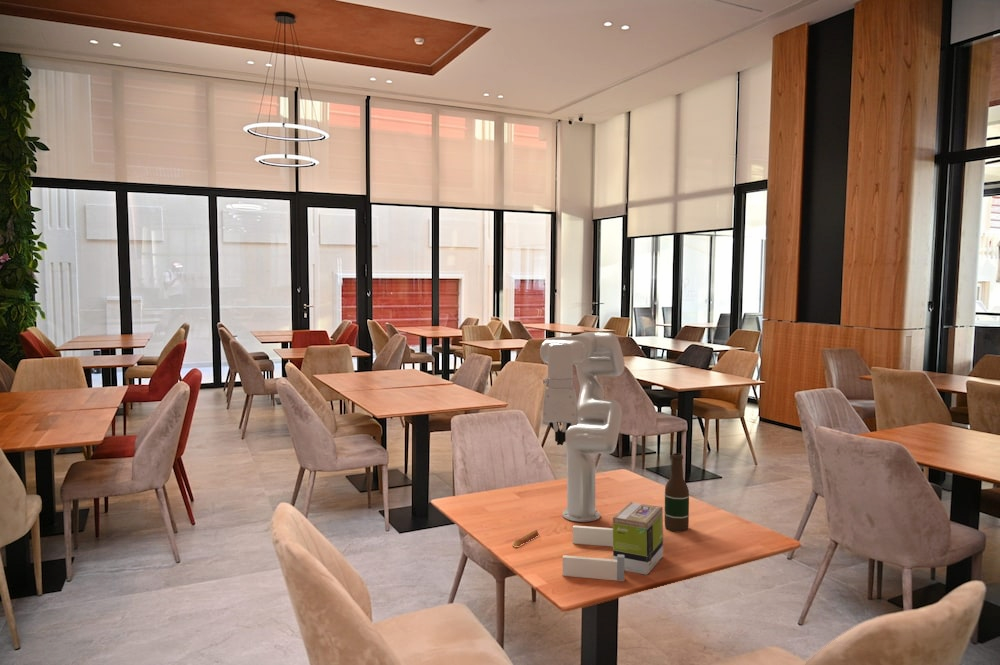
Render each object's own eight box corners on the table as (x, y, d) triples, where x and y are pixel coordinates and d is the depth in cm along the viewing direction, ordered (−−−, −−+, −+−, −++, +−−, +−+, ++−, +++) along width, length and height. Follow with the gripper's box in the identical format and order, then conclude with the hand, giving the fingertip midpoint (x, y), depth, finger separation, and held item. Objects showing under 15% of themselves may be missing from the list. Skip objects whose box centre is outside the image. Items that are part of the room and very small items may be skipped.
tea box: (630, 550, 196) (630, 500, 195) (663, 556, 191) (664, 506, 190) (611, 568, 183) (612, 515, 182) (647, 576, 178) (648, 521, 177)
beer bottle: (668, 522, 220) (668, 450, 218) (691, 526, 216) (692, 453, 214) (660, 529, 213) (661, 455, 212) (685, 534, 209) (686, 458, 208)
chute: (573, 541, 203) (573, 520, 203) (627, 545, 200) (627, 524, 199) (562, 575, 179) (562, 552, 178) (624, 581, 175) (624, 557, 175)
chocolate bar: (511, 547, 200) (511, 540, 200) (533, 535, 209) (533, 528, 209) (518, 549, 198) (518, 542, 198) (540, 537, 208) (540, 530, 208)
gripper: (533, 384, 198) (533, 445, 200) (584, 386, 195) (584, 448, 196) (537, 381, 206) (537, 440, 207) (586, 382, 202) (586, 442, 204)
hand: (560, 443), depth 202 cm, fingers closed
